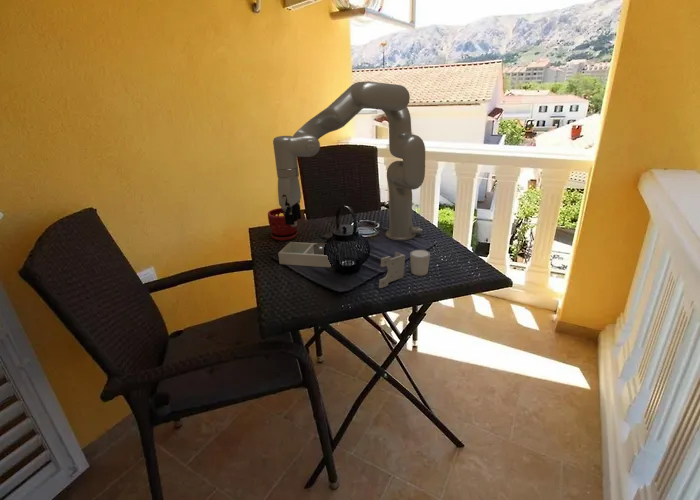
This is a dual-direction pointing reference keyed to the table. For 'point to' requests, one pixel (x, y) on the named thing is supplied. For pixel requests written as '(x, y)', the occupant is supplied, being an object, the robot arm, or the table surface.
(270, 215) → the plant pot
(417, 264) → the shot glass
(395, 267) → the bracket
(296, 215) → the light bulb
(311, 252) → the box
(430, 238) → the table surface
